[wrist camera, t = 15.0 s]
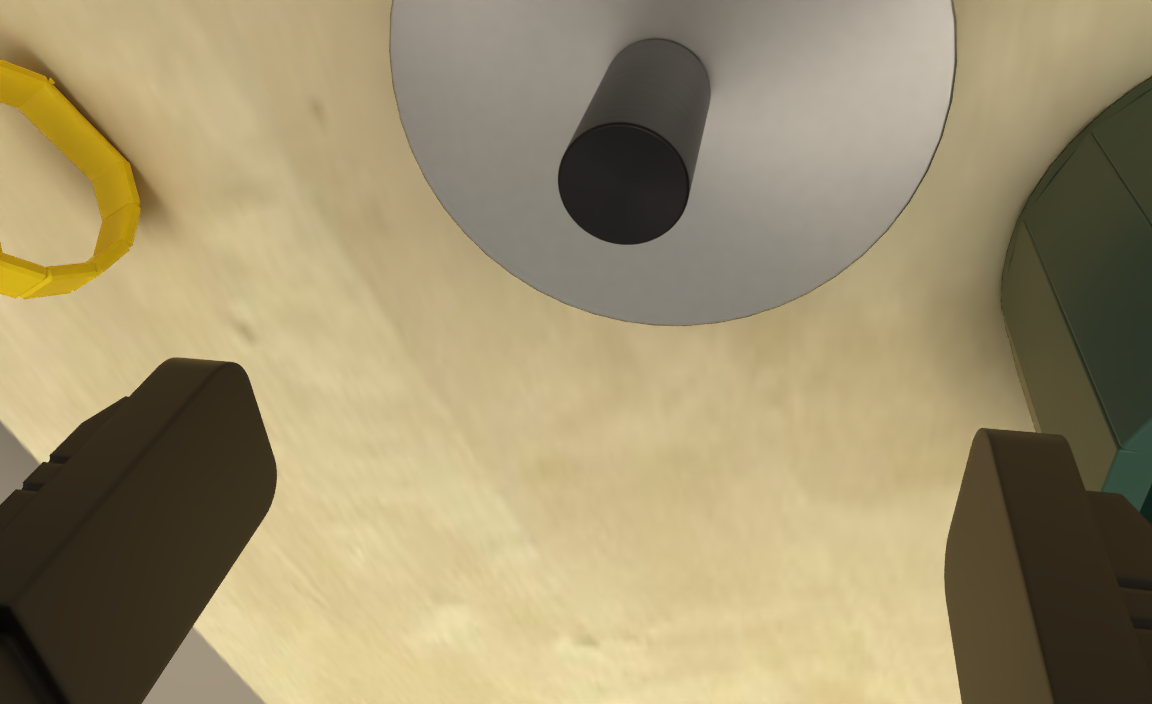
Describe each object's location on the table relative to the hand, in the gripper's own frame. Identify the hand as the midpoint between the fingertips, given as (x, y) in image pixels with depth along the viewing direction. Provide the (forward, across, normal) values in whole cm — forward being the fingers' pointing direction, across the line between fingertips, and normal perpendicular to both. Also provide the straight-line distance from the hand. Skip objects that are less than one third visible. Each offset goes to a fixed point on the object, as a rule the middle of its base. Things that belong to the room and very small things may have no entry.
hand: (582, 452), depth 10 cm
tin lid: (+13, +1, 0) cm, 13 cm away
